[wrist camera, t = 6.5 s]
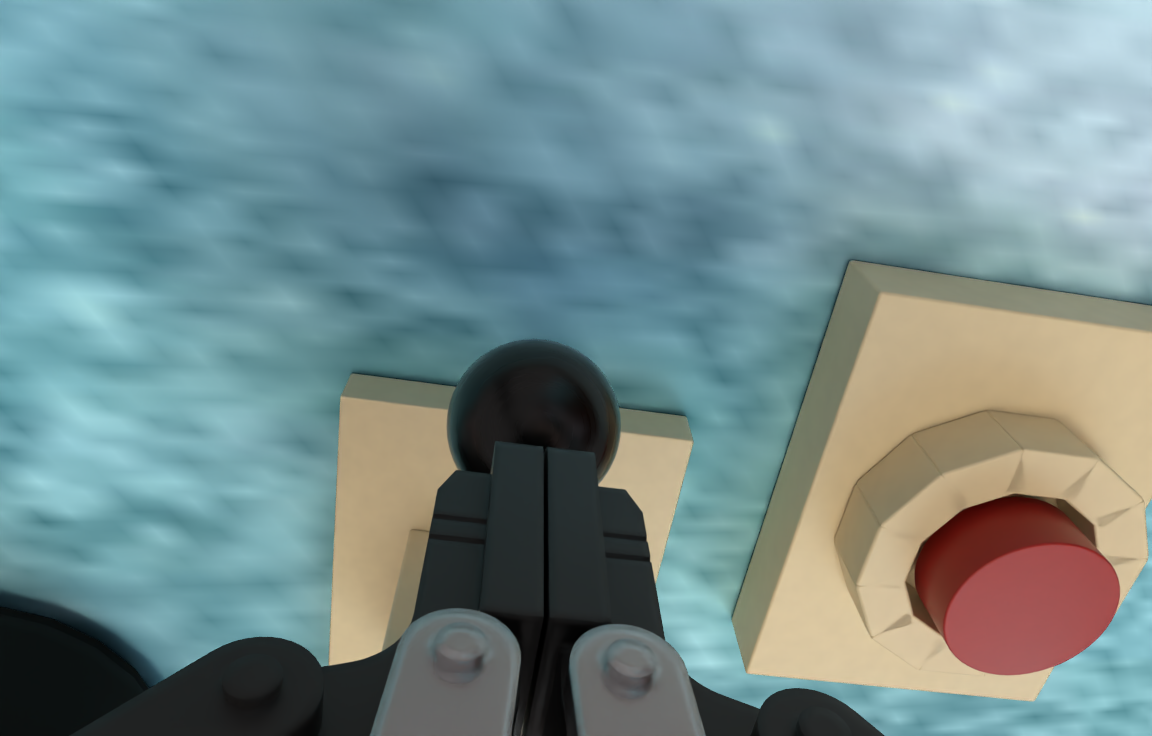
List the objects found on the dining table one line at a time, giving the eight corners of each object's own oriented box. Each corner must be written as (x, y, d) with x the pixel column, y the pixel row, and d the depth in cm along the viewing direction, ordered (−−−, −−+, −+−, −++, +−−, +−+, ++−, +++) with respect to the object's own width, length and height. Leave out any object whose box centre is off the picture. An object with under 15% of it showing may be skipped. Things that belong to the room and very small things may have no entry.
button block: (848, 258, 21) (911, 324, 17) (1179, 309, 22) (1304, 380, 18) (730, 619, 26) (759, 726, 22) (999, 647, 27) (1068, 755, 23)
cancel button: (947, 486, 19) (983, 534, 18) (1105, 506, 20) (1152, 554, 18) (891, 614, 21) (918, 667, 20) (1036, 630, 22) (1075, 683, 20)
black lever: (461, 333, 17) (455, 320, 14) (617, 354, 17) (646, 347, 14) (373, 987, 16) (346, 1133, 13) (534, 996, 17) (545, 1140, 13)
